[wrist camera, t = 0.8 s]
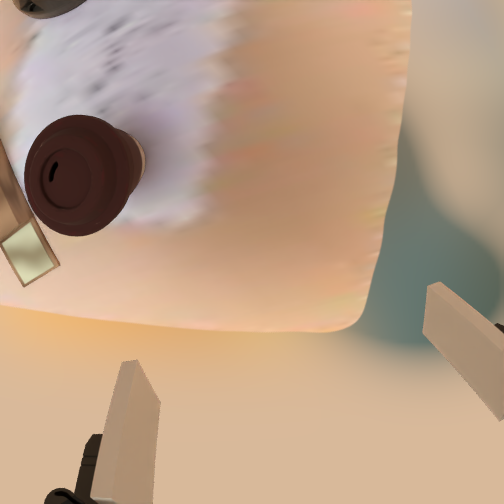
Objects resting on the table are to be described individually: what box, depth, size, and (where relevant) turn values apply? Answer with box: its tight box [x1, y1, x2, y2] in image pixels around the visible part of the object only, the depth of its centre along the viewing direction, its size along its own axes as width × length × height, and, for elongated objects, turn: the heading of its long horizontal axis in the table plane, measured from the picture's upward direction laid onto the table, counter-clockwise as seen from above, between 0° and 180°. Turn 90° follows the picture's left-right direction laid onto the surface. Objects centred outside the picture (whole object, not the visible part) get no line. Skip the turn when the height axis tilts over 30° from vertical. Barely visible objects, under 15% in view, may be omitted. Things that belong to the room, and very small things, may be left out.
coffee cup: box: [24, 115, 145, 236], centre depth 27 cm, size 10×10×15 cm
